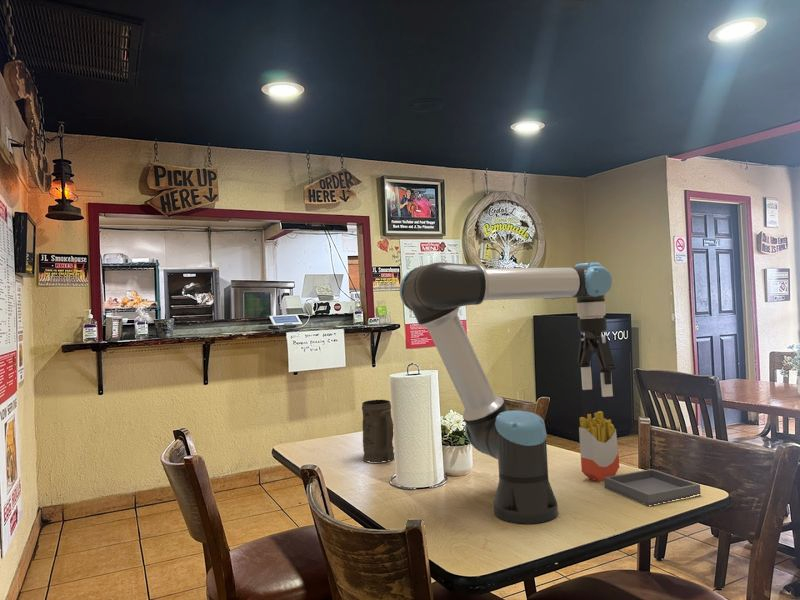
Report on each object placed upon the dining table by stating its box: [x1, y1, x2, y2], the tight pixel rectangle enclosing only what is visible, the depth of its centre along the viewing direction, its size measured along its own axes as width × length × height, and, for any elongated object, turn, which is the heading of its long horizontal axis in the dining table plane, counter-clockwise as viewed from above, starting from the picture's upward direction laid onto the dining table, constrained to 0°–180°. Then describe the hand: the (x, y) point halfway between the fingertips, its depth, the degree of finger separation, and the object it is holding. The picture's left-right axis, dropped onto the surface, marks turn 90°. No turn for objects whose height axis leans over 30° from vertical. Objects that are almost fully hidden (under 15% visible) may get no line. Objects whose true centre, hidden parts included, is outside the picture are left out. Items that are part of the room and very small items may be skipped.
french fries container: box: [578, 410, 620, 482], centre depth 160 cm, size 5×11×18 cm, turn 121°
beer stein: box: [361, 399, 395, 462], centre depth 191 cm, size 15×11×20 cm
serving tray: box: [603, 468, 702, 506], centre depth 146 cm, size 16×16×3 cm
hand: (596, 392), depth 160 cm, fingers open, 13 cm apart
